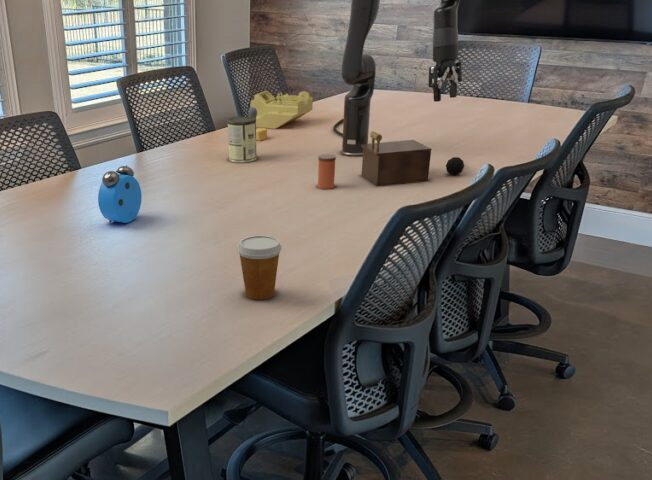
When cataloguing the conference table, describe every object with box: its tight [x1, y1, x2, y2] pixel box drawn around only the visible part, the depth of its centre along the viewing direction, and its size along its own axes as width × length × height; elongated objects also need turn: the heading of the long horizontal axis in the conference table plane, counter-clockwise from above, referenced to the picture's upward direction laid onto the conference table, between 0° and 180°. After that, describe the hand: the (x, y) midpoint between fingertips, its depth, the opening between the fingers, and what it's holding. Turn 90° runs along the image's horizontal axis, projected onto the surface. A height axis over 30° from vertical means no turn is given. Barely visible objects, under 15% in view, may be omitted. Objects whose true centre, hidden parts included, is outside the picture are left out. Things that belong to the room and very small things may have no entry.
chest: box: [361, 148, 432, 187], centre depth 232 cm, size 17×13×9 cm
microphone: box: [445, 156, 465, 176], centre depth 240 cm, size 6×6×20 cm
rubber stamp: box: [248, 106, 268, 142], centre depth 289 cm, size 10×6×12 cm, turn 53°
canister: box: [317, 153, 337, 190], centre depth 227 cm, size 5×5×10 cm
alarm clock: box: [97, 164, 142, 225], centre depth 203 cm, size 13×6×15 cm, turn 151°
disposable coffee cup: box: [236, 235, 283, 301], centre depth 156 cm, size 10×10×12 cm
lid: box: [361, 130, 432, 156], centre depth 228 cm, size 18×13×6 cm
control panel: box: [250, 90, 314, 130], centre depth 312 cm, size 24×16×20 cm
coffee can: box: [226, 115, 258, 164], centre depth 260 cm, size 10×10×14 cm
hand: (445, 99), depth 230 cm, fingers open, 8 cm apart
